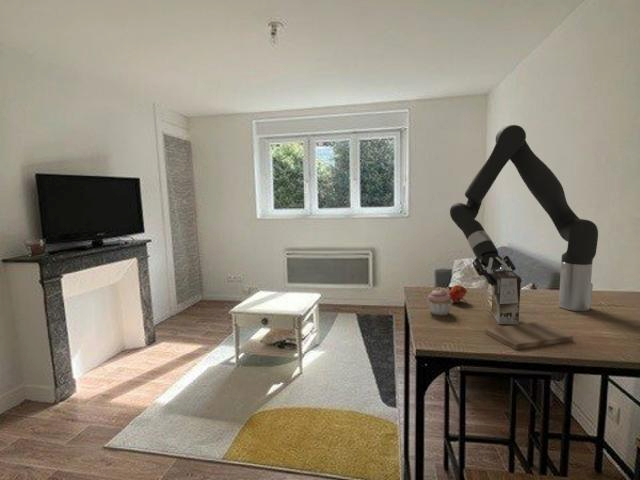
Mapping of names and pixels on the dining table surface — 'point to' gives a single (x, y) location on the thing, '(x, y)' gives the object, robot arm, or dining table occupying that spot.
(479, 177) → the robot arm
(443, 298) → the cupcake
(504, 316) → the coffee box
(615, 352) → the dining table surface
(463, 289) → the pomegranate
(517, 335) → the walnut board
